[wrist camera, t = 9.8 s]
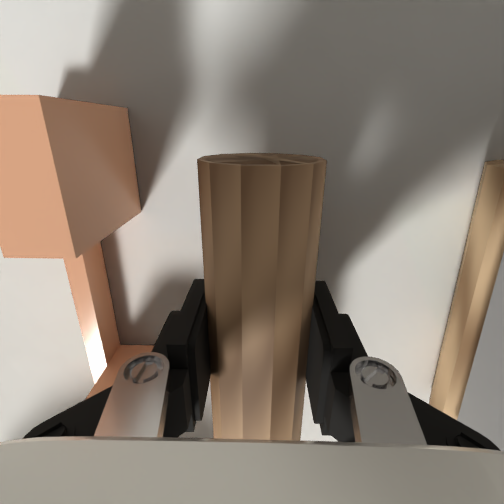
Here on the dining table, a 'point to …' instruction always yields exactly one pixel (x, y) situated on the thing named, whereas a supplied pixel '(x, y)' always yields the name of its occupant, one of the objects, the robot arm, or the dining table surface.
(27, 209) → the block
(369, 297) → the dining table surface
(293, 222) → the roller
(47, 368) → the dining table surface
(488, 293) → the roller
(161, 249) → the dining table surface
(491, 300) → the grey slab
